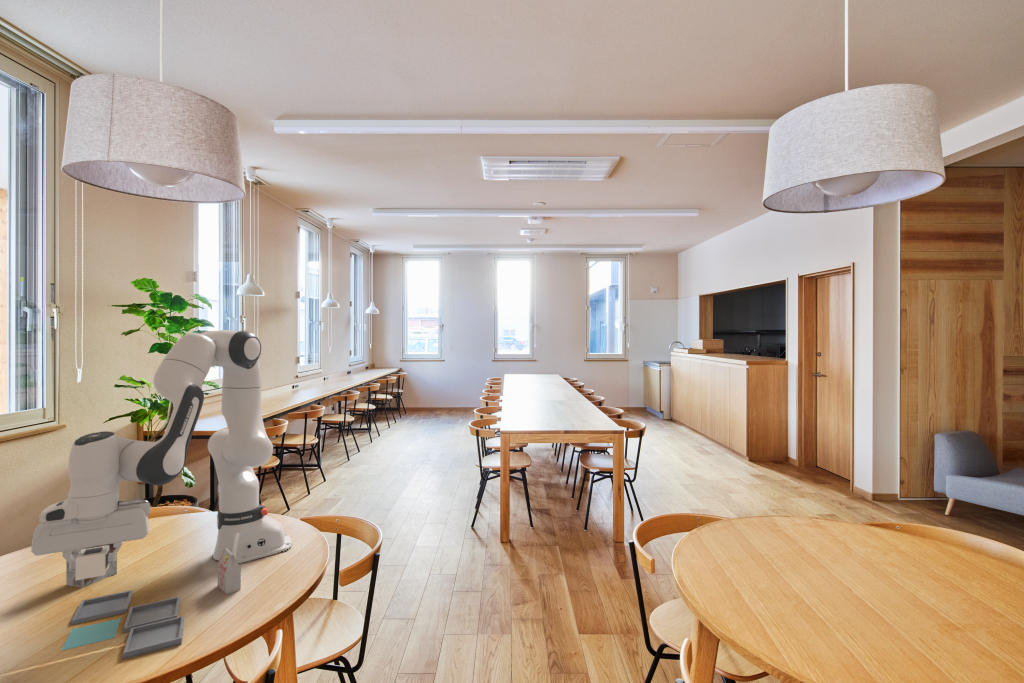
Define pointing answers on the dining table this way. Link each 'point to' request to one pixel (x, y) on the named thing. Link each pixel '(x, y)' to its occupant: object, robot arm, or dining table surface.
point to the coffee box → (86, 582)
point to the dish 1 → (102, 607)
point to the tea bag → (229, 573)
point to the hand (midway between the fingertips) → (93, 564)
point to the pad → (91, 634)
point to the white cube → (92, 562)
